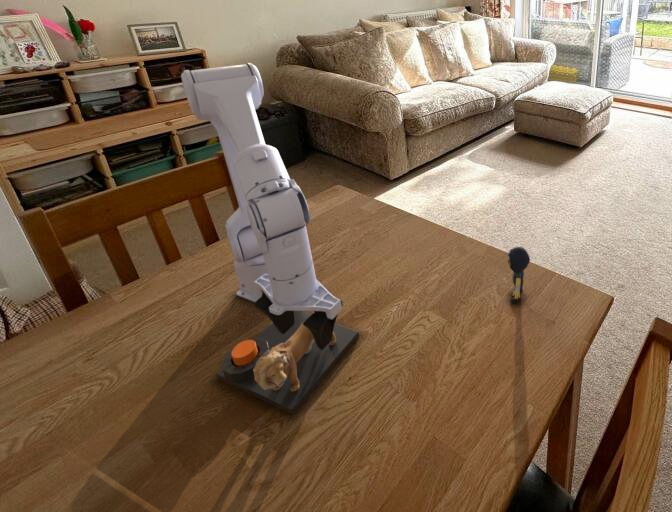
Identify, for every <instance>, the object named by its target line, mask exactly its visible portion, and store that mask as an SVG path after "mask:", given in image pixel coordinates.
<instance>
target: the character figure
mask: <svg viewBox="0 0 672 512" xmlns="http://www.w3.org/2000/svg"><path fill="white" fill-rule="evenodd" d="M507 256H508V259H507V262H508V263H507V264H508V265H509V268H510V270H511V271H512V272H513V273H512V282H513V284H514V285H513V286H514V289H513V292H511V293H510V295H511V299H510V302H511V303H513V304H519V303H521V302H522V294H523V292H524V289H523V287H524V276H525V270H526V269H527V267H528V266H529V264H530V262H531V258H530V255H529V252H528V251H527V249H526V248H524V247H522V246H516V247H512V248H511V249H509V251H508V252H507Z"/></svg>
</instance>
